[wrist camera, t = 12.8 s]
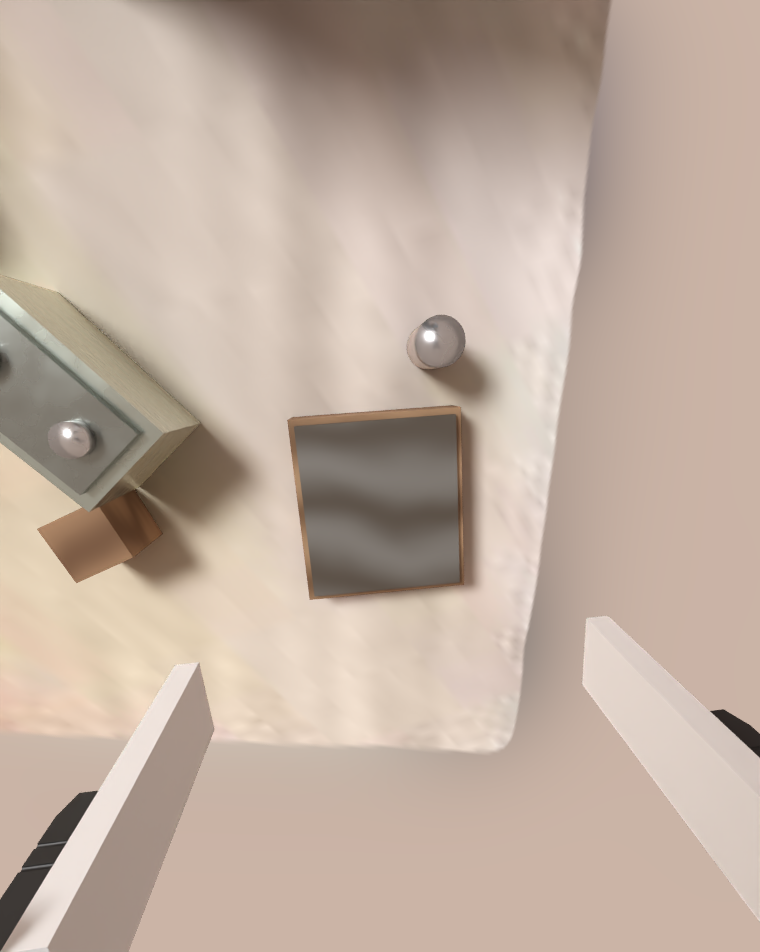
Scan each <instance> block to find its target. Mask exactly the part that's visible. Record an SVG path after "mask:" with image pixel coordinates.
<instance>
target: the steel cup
mask: <svg viewBox="0 0 760 952" xmlns="http://www.w3.org/2000/svg"><path fill="white" fill-rule="evenodd" d="M464 347H465V333H464V330H463V328H462V326H461V325H460V323H459V322H458V321H457V320H455V319H454V318H452V317H450V316H447V315H436V316H433V317H431V318H429V319H427V320H426V321H425V322H424V323H422V324H421V325H420V326H419V327H418V328H416V329H415V330H414V331H413V332H412V333H411V335H410V336H409V339H408V342H407V353H408V356H409V358H410V360H411V361H412V363H413V364H415V365H416V366H417V367H419V368H422V369H434V368H440V367H446V366H449V365H451V364H453V363H454V362H456V361H457V360H458V359H459V357H460V356H461V355H462V353H463V350H464Z"/></svg>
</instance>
